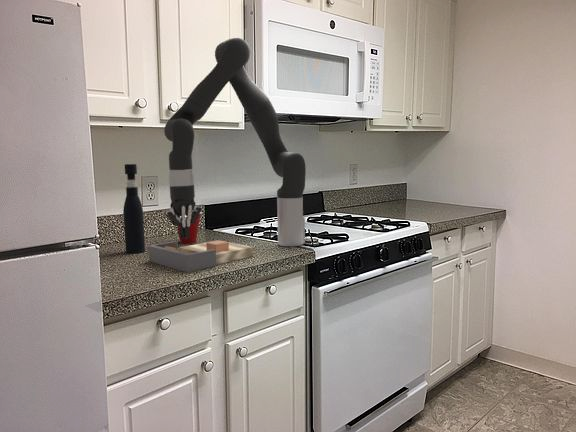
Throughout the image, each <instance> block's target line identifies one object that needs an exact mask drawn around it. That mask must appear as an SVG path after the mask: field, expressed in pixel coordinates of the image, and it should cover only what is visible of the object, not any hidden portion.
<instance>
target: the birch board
mask: <svg viewBox="0 0 576 432" xmlns="http://www.w3.org/2000/svg"><path fill="white" fill-rule="evenodd" d="M216 241H218V240H217V239H216ZM207 242H208V241H207ZM207 242H201V243H196V244H195V243H194V244H192V245H185V246H180V247H179V251H180V252H183V253H187V254H192V253H197V252H202V251H207V248H206V243H207ZM228 242H229V241H228ZM253 256H254V247H253V246H249V245H245V244H244V245H243V244H238V243H234V242H229V250H226V251H221V252H217V253H216V265H221V264H225V263H229V262H233V261H238V260H242V259H246V258H251V257H253Z"/></svg>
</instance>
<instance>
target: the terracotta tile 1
mask: <svg viewBox="0 0 576 432" xmlns="http://www.w3.org/2000/svg"><path fill="white" fill-rule="evenodd" d="M165 248H167V249H171V250H175V251H179V252H180V249H179V248H178V249H177V248H174V247H169V246H166V247H165Z"/></svg>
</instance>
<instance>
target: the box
mask: <svg viewBox="0 0 576 432" xmlns="http://www.w3.org/2000/svg"><path fill="white" fill-rule="evenodd" d="M166 246H169V247H174V248H177V249H178V250H179V241H177V240H174V241H167V242H161V243H156V244H151V245H148V246H147V247H148V262H149V263H154V264H158V265H161V266H164V267H166V268H172V269H174V270H177V271H181V272H184V273H191V272H195V271H201V270H205V269H209V268H213V267H214V268H215V267H217V264H216V250H215V249H212V250H207V251H202V252H197V253H192V254H187V253H183V252H179V251H180V250H179V251H175V250H171V249H167V248H165V247H166Z"/></svg>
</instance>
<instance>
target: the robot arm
mask: <svg viewBox="0 0 576 432" xmlns="http://www.w3.org/2000/svg"><path fill="white" fill-rule="evenodd" d="M214 58H215V62H216V65H215V66H214V67H213V69H212V70H211V71H210V72H208V74H207V75H206V76H205V77H204V78H203V79H202V80H201V81H200V82H199V83H198V84H197V85H196V87H194V88H193V89H192V91H191V93H190V94H189V95H188V96H187V98H186V99H185V101H184V102H183V104H182V105H181V106H180V107H179V109H177V111H175V113H174V114H172V115H171V117H170V118H169V119H168V121H167V122H166V123H165V125H164V129H163V131H164V136H165V138H166V139H167V140H168V141H170V142H171V143H172V147H171V148H172V150H171V151H170V152H169V154H168V165H169V167H168V169H169V175H168V178H169V179H168V181H169V182H168V183H169V195H170V196H169V198H170V204H169V205H170V206H169V207H170V208H168V210H165V211H164V215H165V217H166V218H167V219H168V220H169V222H170V223H172V225H173V226H175V227H177V226H179V230H180V237H181V238H182V239H187V238H189V236H190V228H189V227H190V225H191V224H194V223H195V221H196V219H197V218H198V216H199V214H200V212H202V207H199V206H197V205H196V202H195V197H196V196H195V195H196V194H195V192H196V191H195V177H194V170H193V157H192V156H193V149H194V141H195V129H194V126H193V125H195V123H196V122H198V121H199V120H201V119H202V118H203V117H204V116H205V115H206V113H207V111H208V110H209V109H210V107H211V106H212V105H213V103H214V101H215V100H216V98H217V97H218V96H219V94H221V92H222V90H224V88H225V87H226V85H227V84H228V83H229V84H230V85H231V88H232V89H233V90H234V92H235V94H236V96H237V98H238V101H239V102H240V105H242V107H243V110H244V112H245V113H246V117H247V118H248V120H249V121H250V123H251V125H252V127H253V129H254V130H255V132H256V135H257V136H258V138H259V140H260V142H261V143H262V146H263V149H264V150H265V152H266V154H267V157H268V160H269V162H270V165H271V167H272V169H273V171H274V173H275V174H276V175H277V176H279V177H280V178H282V185H281V187H279V188H278V189H277V191H276V205H277V206H276V207H277V216H276V217H277V245H278V246H281V247H298V246H299V247H300V246H302V245H304V244H305V243H306V233H305V232H306V223H305V221H306V220H305V217H304V210H303V209H304V206H303V203H304V202H303V201H304V199H303V197H304V196H303V195H304V191H305V187H306V171H307V169H306V162H305V158H304V156H303V155H302V154H300V153H298V152H295V151H293V152H292V151H291V152H289V151H288V149H287V147H286V146H285V144H284V142H283V139H282V138H281V135H280V125H279V119H278V117H279V116H278V115H277V112H276V110H275V108H274V106H273V104H272V102H271V100H270V98H269V97H268V96H267V94H266V93H265V92H264V91H263V90H262V89H261V88H260V87H259V86H258V85H257V84H256V83H255V82H254V81H253V79H252V78H251V77H250V75H249V74H248V72H247V70H246V68H245V65H246V64H247V63H248V62H249V60H250V58H251V49H250V45H249V44H248V42H247V41H246V40H245V39H243V38H241V37H232V38H229V39H227V40H224V41H222V42H220V43H219V44H217V46H216V47H215V51H214ZM174 213H175V214H176V217H175V215H174Z"/></svg>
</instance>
